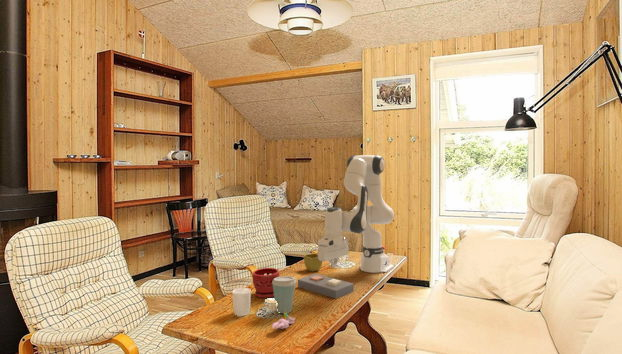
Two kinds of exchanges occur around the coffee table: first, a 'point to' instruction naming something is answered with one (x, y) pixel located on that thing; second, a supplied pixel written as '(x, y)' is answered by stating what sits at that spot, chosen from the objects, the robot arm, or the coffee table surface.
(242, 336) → the coffee table surface
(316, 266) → the flower pot
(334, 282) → the cream key
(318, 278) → the terracotta key
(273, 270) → the plant pot
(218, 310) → the coffee table surface
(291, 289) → the disposable coffee cup
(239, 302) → the white cup
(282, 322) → the pink flower
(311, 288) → the key panel
